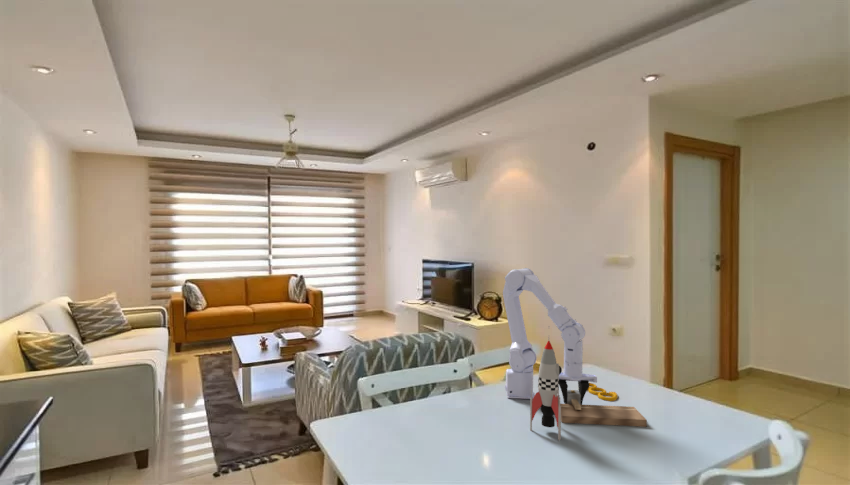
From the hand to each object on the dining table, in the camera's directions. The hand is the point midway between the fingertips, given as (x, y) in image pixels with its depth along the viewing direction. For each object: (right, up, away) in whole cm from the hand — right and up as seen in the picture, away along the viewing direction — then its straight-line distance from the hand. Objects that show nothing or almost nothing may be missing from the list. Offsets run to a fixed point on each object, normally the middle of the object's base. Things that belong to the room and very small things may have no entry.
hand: (572, 403), depth 142 cm
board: (+5, -2, -8) cm, 10 cm away
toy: (-14, -2, -18) cm, 23 cm away
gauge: (0, -1, -3) cm, 3 cm away
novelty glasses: (+14, -2, +14) cm, 20 cm away
